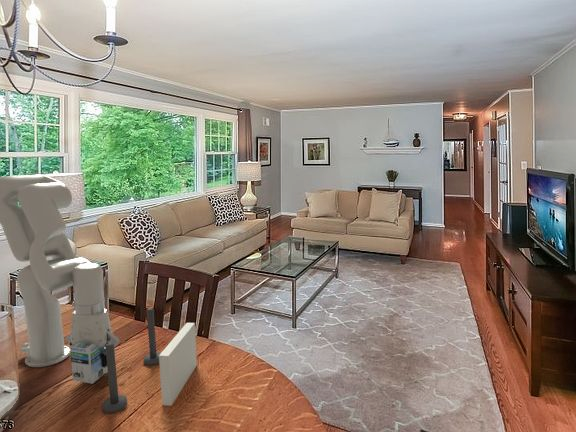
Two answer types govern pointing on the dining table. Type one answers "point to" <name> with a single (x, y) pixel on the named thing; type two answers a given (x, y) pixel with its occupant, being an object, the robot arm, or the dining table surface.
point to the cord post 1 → (113, 384)
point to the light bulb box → (87, 362)
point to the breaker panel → (177, 363)
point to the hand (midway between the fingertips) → (94, 363)
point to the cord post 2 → (151, 341)
